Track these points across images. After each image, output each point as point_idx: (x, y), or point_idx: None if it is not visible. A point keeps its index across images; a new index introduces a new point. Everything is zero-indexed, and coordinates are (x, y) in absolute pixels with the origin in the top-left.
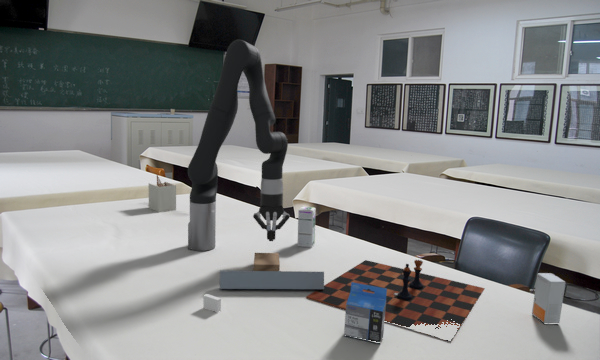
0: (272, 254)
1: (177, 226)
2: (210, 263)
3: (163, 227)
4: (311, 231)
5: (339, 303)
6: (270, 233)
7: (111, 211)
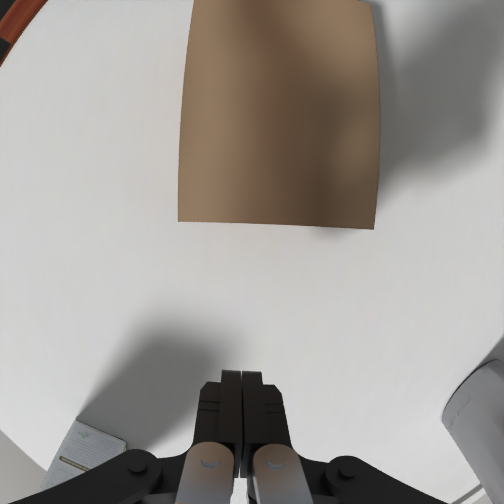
0: (233, 184)
1: (453, 480)
2: (500, 238)
3: None
4: (53, 466)
5: None
6: (250, 423)
7: None
